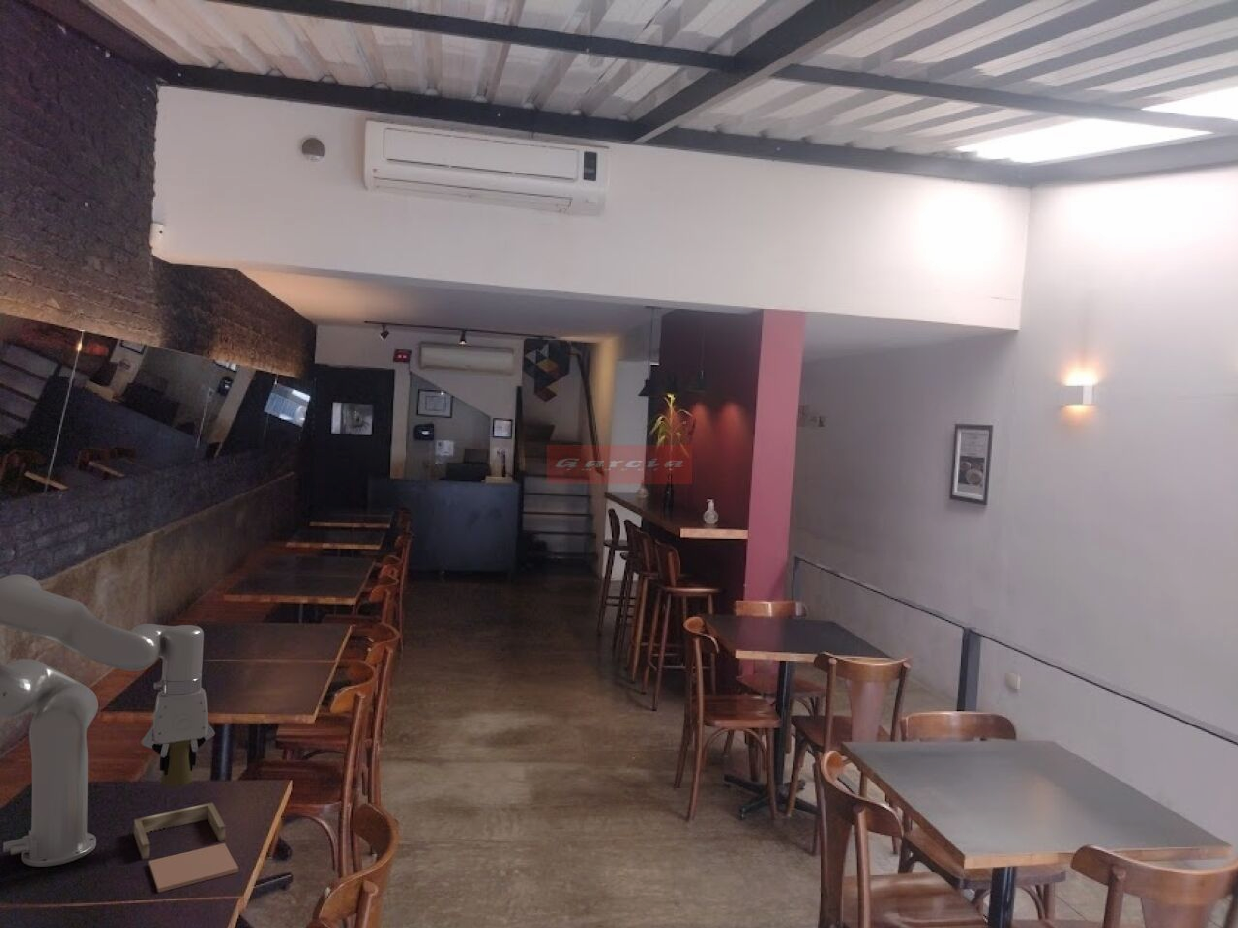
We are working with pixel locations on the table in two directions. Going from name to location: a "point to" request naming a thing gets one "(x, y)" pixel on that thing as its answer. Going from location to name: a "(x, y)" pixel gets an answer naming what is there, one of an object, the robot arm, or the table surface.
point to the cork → (178, 765)
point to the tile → (192, 867)
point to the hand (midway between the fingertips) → (177, 770)
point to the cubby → (176, 823)
